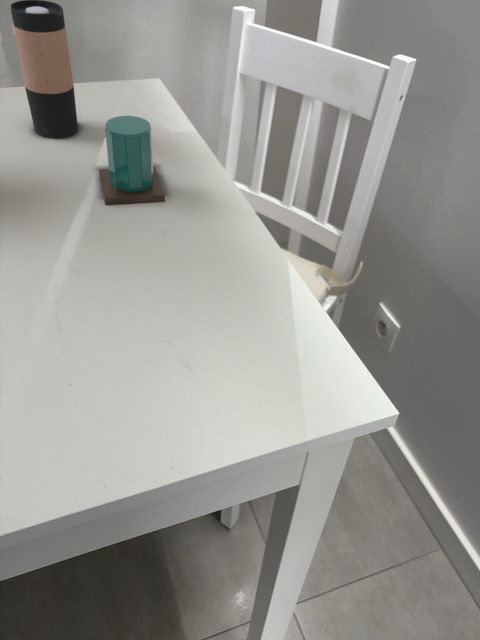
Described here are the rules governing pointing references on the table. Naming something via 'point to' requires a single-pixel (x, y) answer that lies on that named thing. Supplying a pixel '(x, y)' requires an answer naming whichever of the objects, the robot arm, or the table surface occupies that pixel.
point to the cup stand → (126, 197)
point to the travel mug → (46, 67)
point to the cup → (129, 153)
